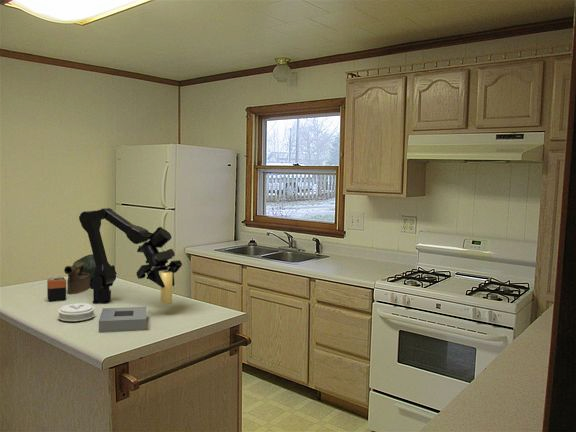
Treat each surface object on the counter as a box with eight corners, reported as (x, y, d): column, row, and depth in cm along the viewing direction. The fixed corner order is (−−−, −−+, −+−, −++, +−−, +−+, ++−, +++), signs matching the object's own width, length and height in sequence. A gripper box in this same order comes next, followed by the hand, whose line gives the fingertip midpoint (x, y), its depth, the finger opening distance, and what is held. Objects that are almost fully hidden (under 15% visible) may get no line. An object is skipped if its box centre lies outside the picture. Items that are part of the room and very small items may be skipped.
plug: (160, 303, 191) (161, 273, 190) (160, 300, 196) (161, 271, 194) (172, 303, 193) (172, 273, 191) (171, 300, 197) (172, 271, 196)
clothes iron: (58, 295, 215) (58, 265, 214) (74, 287, 231) (74, 259, 230) (76, 296, 215) (76, 266, 214) (90, 287, 231) (90, 259, 230)
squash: (59, 272, 237) (75, 251, 232) (83, 268, 250) (98, 248, 246) (74, 294, 233) (91, 273, 228) (98, 289, 247) (114, 269, 242)
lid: (58, 315, 189) (58, 302, 188) (93, 312, 194) (93, 300, 193) (57, 325, 177) (57, 311, 177) (95, 321, 182) (95, 308, 182)
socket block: (98, 332, 171) (98, 321, 170) (102, 318, 186) (102, 308, 185) (146, 329, 175) (146, 319, 175) (146, 316, 190) (146, 306, 190)
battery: (66, 300, 208) (66, 277, 207) (48, 302, 204) (48, 278, 204) (64, 298, 212) (64, 275, 211) (47, 299, 208) (47, 276, 207)
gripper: (141, 244, 187) (158, 278, 181) (180, 240, 202) (196, 271, 196) (129, 262, 193) (145, 294, 187) (167, 256, 207) (183, 287, 201)
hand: (168, 286), depth 193 cm, fingers closed on plug, 4 cm apart
